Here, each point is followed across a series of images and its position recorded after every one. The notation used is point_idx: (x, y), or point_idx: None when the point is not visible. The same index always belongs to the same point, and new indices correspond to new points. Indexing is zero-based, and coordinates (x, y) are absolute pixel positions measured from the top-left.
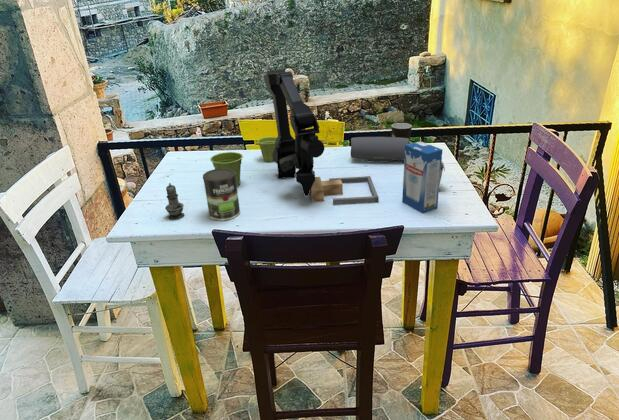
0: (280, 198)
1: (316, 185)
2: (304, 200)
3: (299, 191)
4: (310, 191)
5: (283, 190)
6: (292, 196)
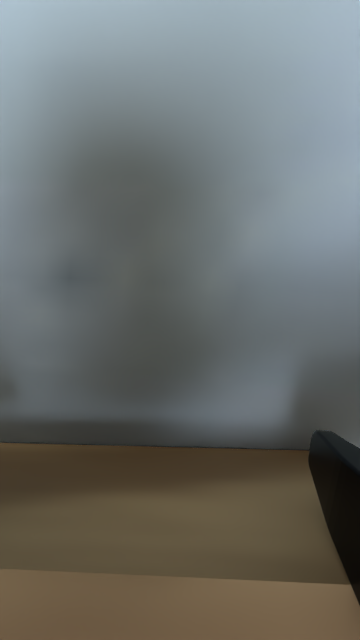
0: (86, 67)
1: (59, 638)
2: (14, 371)
3: (259, 335)
4: (209, 453)
5: (350, 115)
6: (130, 243)
